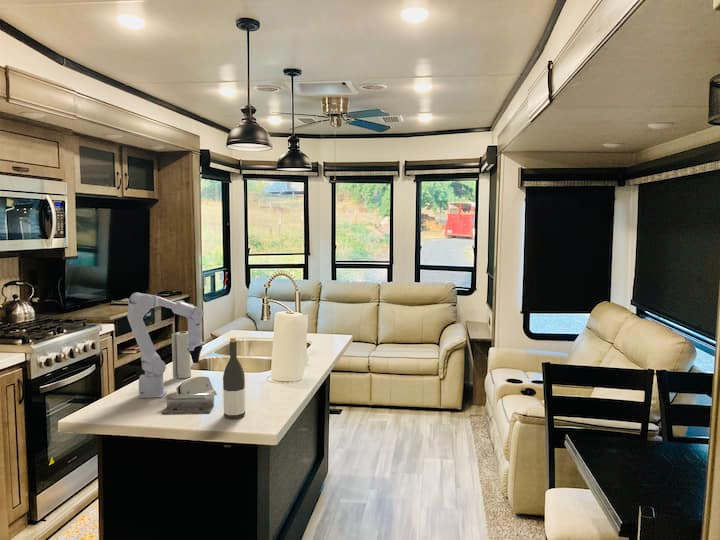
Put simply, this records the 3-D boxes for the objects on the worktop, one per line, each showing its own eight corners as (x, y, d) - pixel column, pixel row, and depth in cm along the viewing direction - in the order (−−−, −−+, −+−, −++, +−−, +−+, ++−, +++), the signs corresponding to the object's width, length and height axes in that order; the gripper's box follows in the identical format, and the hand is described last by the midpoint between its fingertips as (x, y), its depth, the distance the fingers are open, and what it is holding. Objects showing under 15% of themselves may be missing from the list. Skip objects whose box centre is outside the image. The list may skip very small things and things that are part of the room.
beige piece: (187, 406, 218) (180, 382, 219) (179, 408, 221) (172, 384, 221) (217, 394, 233) (211, 371, 233) (209, 396, 235) (203, 374, 236)
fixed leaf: (162, 414, 210) (161, 400, 209) (168, 406, 218) (168, 393, 217) (209, 413, 211) (209, 399, 210) (214, 405, 219) (213, 392, 218)
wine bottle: (225, 420, 203) (223, 341, 200) (222, 413, 210) (220, 336, 207) (247, 417, 206) (245, 339, 203) (243, 410, 214) (241, 334, 211)
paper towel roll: (193, 375, 261) (191, 331, 259) (187, 379, 255) (186, 333, 253) (178, 374, 262) (177, 330, 260) (173, 378, 256) (171, 333, 254)
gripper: (200, 336, 238) (200, 367, 239) (207, 329, 252) (208, 358, 253) (183, 336, 237) (184, 367, 238) (191, 329, 252) (192, 358, 253)
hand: (195, 362), depth 246 cm, fingers closed
